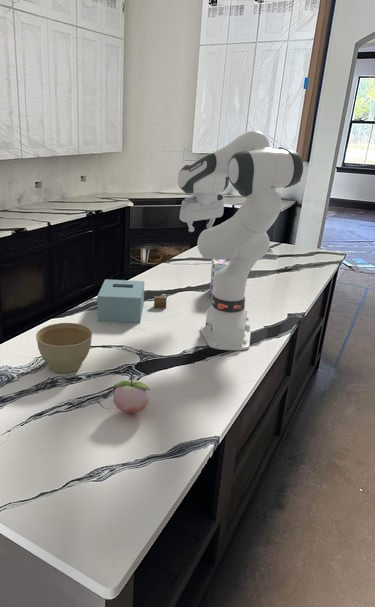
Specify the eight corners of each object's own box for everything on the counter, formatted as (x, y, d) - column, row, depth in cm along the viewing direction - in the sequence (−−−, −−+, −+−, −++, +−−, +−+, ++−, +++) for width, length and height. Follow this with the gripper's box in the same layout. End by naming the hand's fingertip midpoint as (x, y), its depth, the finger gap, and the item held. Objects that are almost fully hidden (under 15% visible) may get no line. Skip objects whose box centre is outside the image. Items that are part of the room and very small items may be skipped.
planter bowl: (37, 381, 129) (34, 347, 125) (39, 355, 143) (36, 324, 139) (94, 376, 133) (94, 343, 129) (90, 351, 148) (90, 321, 144)
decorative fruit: (150, 403, 122) (151, 371, 118) (148, 422, 114) (149, 388, 111) (114, 402, 121) (114, 369, 118) (111, 421, 114) (110, 386, 110)
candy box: (223, 300, 200) (226, 264, 194) (210, 299, 200) (213, 263, 194) (222, 289, 213) (225, 255, 207) (209, 289, 213) (212, 255, 207)
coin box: (140, 322, 172) (140, 298, 168) (97, 321, 171) (97, 296, 168) (143, 303, 190) (144, 281, 187) (105, 302, 190) (105, 279, 186)
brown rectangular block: (166, 308, 187) (166, 298, 186) (154, 307, 187) (154, 297, 185) (166, 306, 189) (166, 296, 187) (154, 306, 189) (154, 296, 187)
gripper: (187, 200, 169) (184, 235, 175) (227, 195, 181) (224, 228, 187) (177, 196, 173) (175, 231, 179) (217, 191, 185) (213, 224, 191)
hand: (200, 229), depth 183 cm, fingers open, 8 cm apart
